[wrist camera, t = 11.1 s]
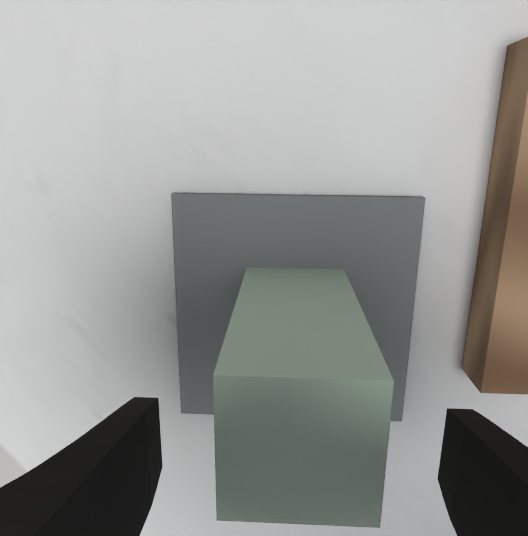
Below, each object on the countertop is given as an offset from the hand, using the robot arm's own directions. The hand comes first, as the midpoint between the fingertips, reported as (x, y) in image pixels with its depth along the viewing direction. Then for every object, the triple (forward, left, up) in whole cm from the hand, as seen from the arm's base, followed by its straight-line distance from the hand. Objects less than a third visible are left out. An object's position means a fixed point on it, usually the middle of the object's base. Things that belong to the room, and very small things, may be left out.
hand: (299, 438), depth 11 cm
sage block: (0, 0, -8) cm, 8 cm away
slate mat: (0, 0, -9) cm, 9 cm away
